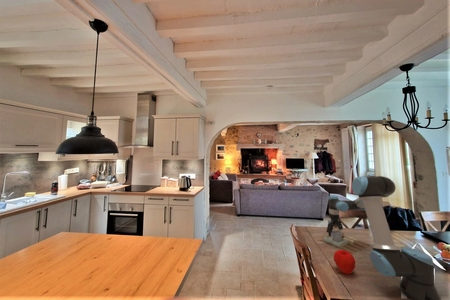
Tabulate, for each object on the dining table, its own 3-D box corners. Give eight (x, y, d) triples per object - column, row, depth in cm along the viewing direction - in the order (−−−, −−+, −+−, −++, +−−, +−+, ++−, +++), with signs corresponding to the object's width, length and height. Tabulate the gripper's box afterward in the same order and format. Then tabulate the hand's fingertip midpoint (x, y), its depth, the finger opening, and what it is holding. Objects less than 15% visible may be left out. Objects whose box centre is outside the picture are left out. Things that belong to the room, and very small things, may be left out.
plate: (352, 244, 147) (352, 241, 147) (342, 240, 154) (342, 238, 154) (357, 242, 150) (357, 239, 151) (347, 238, 158) (347, 236, 158)
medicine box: (338, 240, 154) (337, 230, 154) (341, 242, 149) (341, 232, 150) (329, 240, 154) (329, 230, 154) (332, 243, 149) (332, 232, 150)
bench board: (352, 255, 133) (351, 247, 133) (320, 241, 156) (319, 234, 156) (370, 246, 146) (370, 238, 146) (338, 234, 169) (338, 228, 169)
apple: (330, 269, 117) (329, 248, 118) (342, 265, 122) (341, 245, 122) (347, 280, 106) (346, 258, 107) (360, 275, 110) (359, 253, 111)
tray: (339, 247, 143) (339, 243, 143) (324, 241, 154) (323, 237, 155) (347, 243, 148) (347, 240, 149) (332, 237, 160) (332, 234, 160)
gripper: (329, 217, 144) (331, 243, 142) (346, 212, 155) (348, 236, 154) (321, 214, 150) (322, 240, 149) (338, 210, 162) (339, 233, 161)
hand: (335, 238), depth 152 cm, fingers open, 13 cm apart
